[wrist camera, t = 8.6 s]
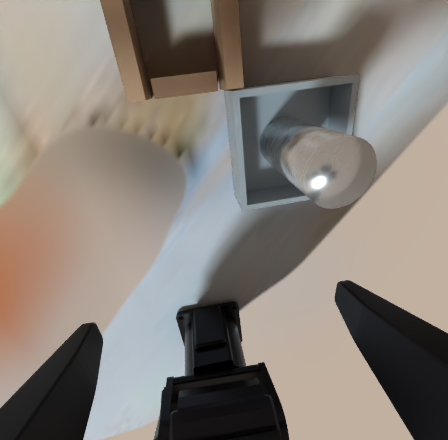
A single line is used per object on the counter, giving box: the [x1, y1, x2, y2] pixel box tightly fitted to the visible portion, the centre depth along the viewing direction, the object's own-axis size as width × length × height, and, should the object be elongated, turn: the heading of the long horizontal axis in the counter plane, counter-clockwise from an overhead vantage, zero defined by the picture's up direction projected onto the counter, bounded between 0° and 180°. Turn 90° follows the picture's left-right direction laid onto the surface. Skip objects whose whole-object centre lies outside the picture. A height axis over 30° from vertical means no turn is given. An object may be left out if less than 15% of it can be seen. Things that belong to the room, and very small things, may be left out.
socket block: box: [100, 0, 244, 103], centre depth 14 cm, size 7×7×3 cm
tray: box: [225, 74, 360, 211], centre depth 18 cm, size 8×8×3 cm
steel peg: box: [259, 117, 377, 209], centre depth 15 cm, size 4×4×8 cm
